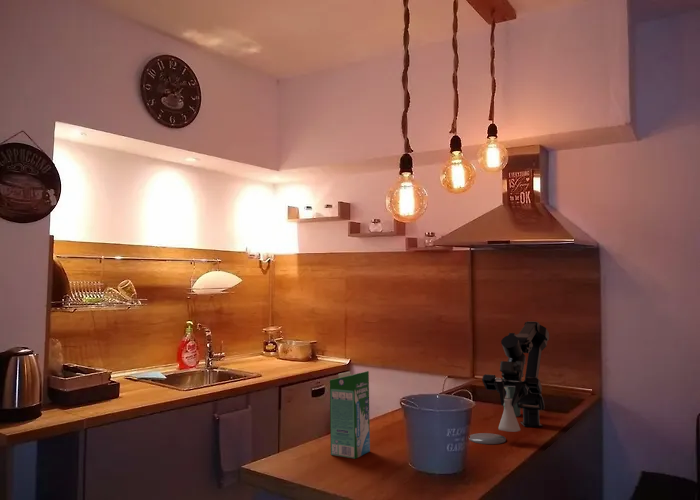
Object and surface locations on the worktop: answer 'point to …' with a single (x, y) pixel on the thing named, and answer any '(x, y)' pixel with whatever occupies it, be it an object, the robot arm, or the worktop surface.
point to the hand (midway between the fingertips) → (507, 405)
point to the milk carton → (350, 415)
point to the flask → (509, 418)
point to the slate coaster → (487, 438)
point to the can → (510, 394)
